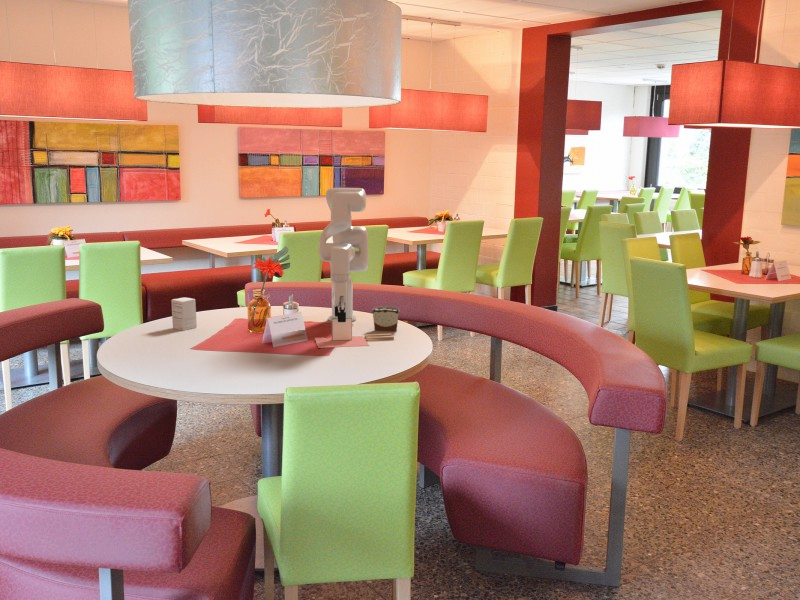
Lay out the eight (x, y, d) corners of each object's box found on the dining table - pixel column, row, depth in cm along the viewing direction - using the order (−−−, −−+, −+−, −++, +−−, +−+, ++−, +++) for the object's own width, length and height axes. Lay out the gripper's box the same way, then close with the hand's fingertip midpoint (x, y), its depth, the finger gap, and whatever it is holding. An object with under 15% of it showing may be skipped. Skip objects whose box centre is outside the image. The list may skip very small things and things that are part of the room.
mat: (314, 339, 314) (314, 337, 313) (362, 337, 318) (362, 336, 317) (318, 348, 298) (318, 347, 298) (369, 346, 302) (369, 345, 302)
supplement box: (186, 325, 336) (184, 296, 334) (197, 327, 332) (196, 298, 329) (172, 328, 330) (170, 299, 328) (183, 330, 326) (182, 301, 323)
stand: (364, 338, 316) (364, 334, 316) (390, 337, 318) (391, 333, 318) (367, 341, 310) (367, 338, 309) (393, 340, 312) (394, 337, 312)
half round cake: (401, 329, 333) (401, 306, 331) (400, 332, 327) (400, 309, 325) (373, 328, 334) (373, 305, 332) (371, 331, 328) (371, 308, 326)
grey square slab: (331, 317, 309) (351, 317, 311) (331, 339, 311) (351, 338, 312) (332, 318, 307) (351, 318, 309) (332, 340, 309) (351, 340, 310)
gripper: (328, 273, 314) (328, 314, 317) (333, 281, 297) (333, 324, 301) (346, 273, 315) (346, 313, 319) (352, 281, 299) (352, 324, 302)
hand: (340, 319), depth 310 cm, fingers open, 9 cm apart
